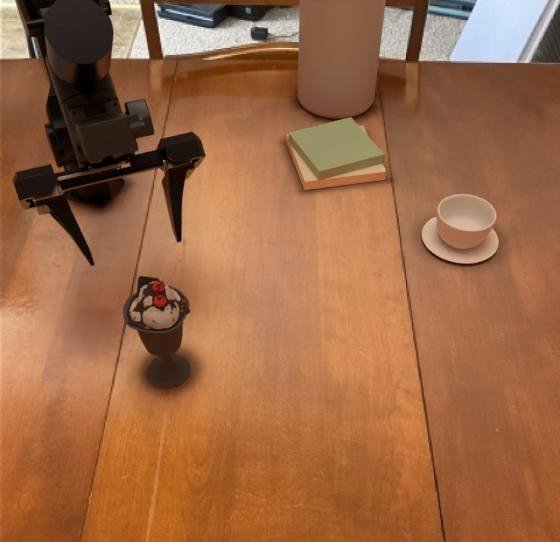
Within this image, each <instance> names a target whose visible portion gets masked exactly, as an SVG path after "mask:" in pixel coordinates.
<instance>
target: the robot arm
mask: <svg viewBox="0 0 560 542" xmlns="http://www.w3.org/2000/svg"><path fill="white" fill-rule="evenodd" d="M14 2H15V5H16V8H17V10H18V15H19V17H20V18H19V19H20V22H21V23H22V27H23V28H24V31H25V32H26V35H27V37H28V38H31V39H32V38H34V40H35V43H36V46H37V49H38V53H39V55H40V58H41V62H42V65H43V68H44V71H45V74H46V78H47V81H48V84H49V89H48V93H47V97H46V98H47V99H46V104H45V114H46V118H47V121H48V122H47V123H44V124H43V125H44V130H45V136H46V139H47V141H48V145H49V148H50V151H51V154H52V157H53V159H54V162H55V165H56V167H57V169H60V168H62V167H63V171H59V172H55V171H54V168H53V164H52V163H49V164H45V165H41V166H40V165H39V166H36V167H31V168H28V169H22V170H18V171H15V173H14V175H13V177H12V183H13V186H14V190H15V192H16V195H17V199H18V201H19V203H20V205H21V207H22V209H23V210H32V209H36V210H37V212H38V213H37V214H38V215H39V216H45V215H48V214H49V215H50V216H51V217H52V218H53V220H54V221H56V222H57V224H58V225H59V226H60V227H61V228H62V229H63V230H64V231H65V232H66V233H67V234H68V236H69V237H70V239H71V240H72V242H73V243H74V244H75V245H76V246H75V247H77V249H78V250H79V252H80V253H81V255H83V257H84V258H85V260H86V261H87V263H88V265H89V266H90V267H93V266H95V264H96V263H95V260H94V257H93V255H92V251H91V248H90V246H89V244H88V242H87V240H86V238H85V235H84V234H83V231H82V229H81V227H80V226H79V223H78V220H77V218H76V217H75V214H74V213H73V210H72V208H71V205H70V203H69V201H68V200H71V201H74V202H78V203H81V204H84V205H89V206H91V207H95V208H98V209H102V208H104V207H105V206H106V205H107V204H108V203H109V202H110V201H111V199H113V197H114V196H115V195H116V194H117V193H118V192H119V191H120V190H121V189H122V188H123V187H124V186H125V184H126V180H125V179H124V178H127V177H129V176H135V175H137V174H142V173H146V172H150V171H155V170H161V171H162V172H163V174H164V175H163V177H162V179H161V185H162V190H163V194H164V199H165V203H166V208H167V213H168V217H169V222H170V226H171V230H172V234H173V236H174V238H175V241H176V243H177V244H178V243H181V242H182V241H183V198H184V197H183V196H184V190H185V183H186V180H188V179H190V177H191V176H192V175H193V173H194V172H195V170H196V169H197V168H199V167H200V165H201V164H202V163H203V161H204V159H205V158H206V157H207V156H206V151H205V149H204V145H203V142H202V140H201V138H200V136H199V135H197V133H195V132H194V131H188V132H184V133H180V134H176V135H175V134H174V135H171V136H167V137H163V138H160V139H159V141H158V144H157V146H156V149H153V150H149V151H145V152H141V153H136V152H138V151H139V149H140V148H139V145H138V141H137V139H141V138H146V137H150V136H154V134H155V128H154V123H153V120H152V119H153V118H152V116H151V113H150V109H149V106H148V103H147V100H146V99H145V98H140V99H134V100H130V101H125V102H124V112H123V110H122V107H121V103H120V100H119V96H118V94H117V90H116V88H115V84H114V80H113V78H112V74H111V70H110V69H111V64H112V56H113V55H112V54H113V44H114V36H115V35H114V34H115V30H114V26H113V25H114V24H113V21H112V20H111V17H110V16H113V11H112V6H111V1H110V0H14ZM123 165H128V166H123Z"/></svg>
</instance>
